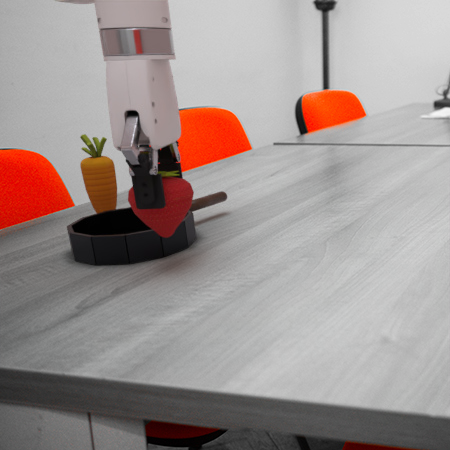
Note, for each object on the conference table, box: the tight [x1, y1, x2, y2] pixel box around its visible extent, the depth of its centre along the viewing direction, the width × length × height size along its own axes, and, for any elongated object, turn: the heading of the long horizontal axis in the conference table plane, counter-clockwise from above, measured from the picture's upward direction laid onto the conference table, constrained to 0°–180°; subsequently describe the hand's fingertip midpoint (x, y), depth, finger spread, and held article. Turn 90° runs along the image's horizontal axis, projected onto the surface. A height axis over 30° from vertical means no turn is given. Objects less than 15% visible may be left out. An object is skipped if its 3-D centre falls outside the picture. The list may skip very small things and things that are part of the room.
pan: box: [66, 190, 228, 266], centre depth 87 cm, size 27×16×4 cm, turn 153°
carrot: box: [79, 133, 118, 214], centre depth 92 cm, size 5×5×15 cm
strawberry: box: [127, 171, 195, 238], centre depth 70 cm, size 6×8×10 cm
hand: (161, 199), depth 70 cm, fingers closed on strawberry, 6 cm apart
